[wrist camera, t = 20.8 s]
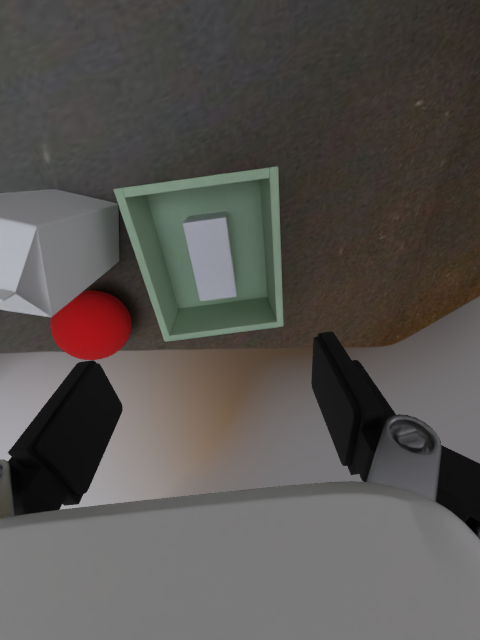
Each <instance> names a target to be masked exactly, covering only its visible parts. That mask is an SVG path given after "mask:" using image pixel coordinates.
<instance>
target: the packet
mask: <svg viewBox="0 0 480 640" xmlns="http://www.w3.org/2000/svg"><path fill="white" fill-rule="evenodd" d="M183 228H184V233H185V237H186V242H187V246H188V250H189V255H190V259H191V264H192V268H193V272H194V277H195V281H196V286H197V290H198V295H199V299H200V301H207V300H214V299H222V298H229V297H236V296H237V293H236V283H235V276H234V268H233V261H232V254H231V247H230V239H229V232H228V225H227V218H226V211H223V212H215V213H208V214H201V215H194V216H188V218H187V219H186V220H185V221H184V222H183Z"/></svg>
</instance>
